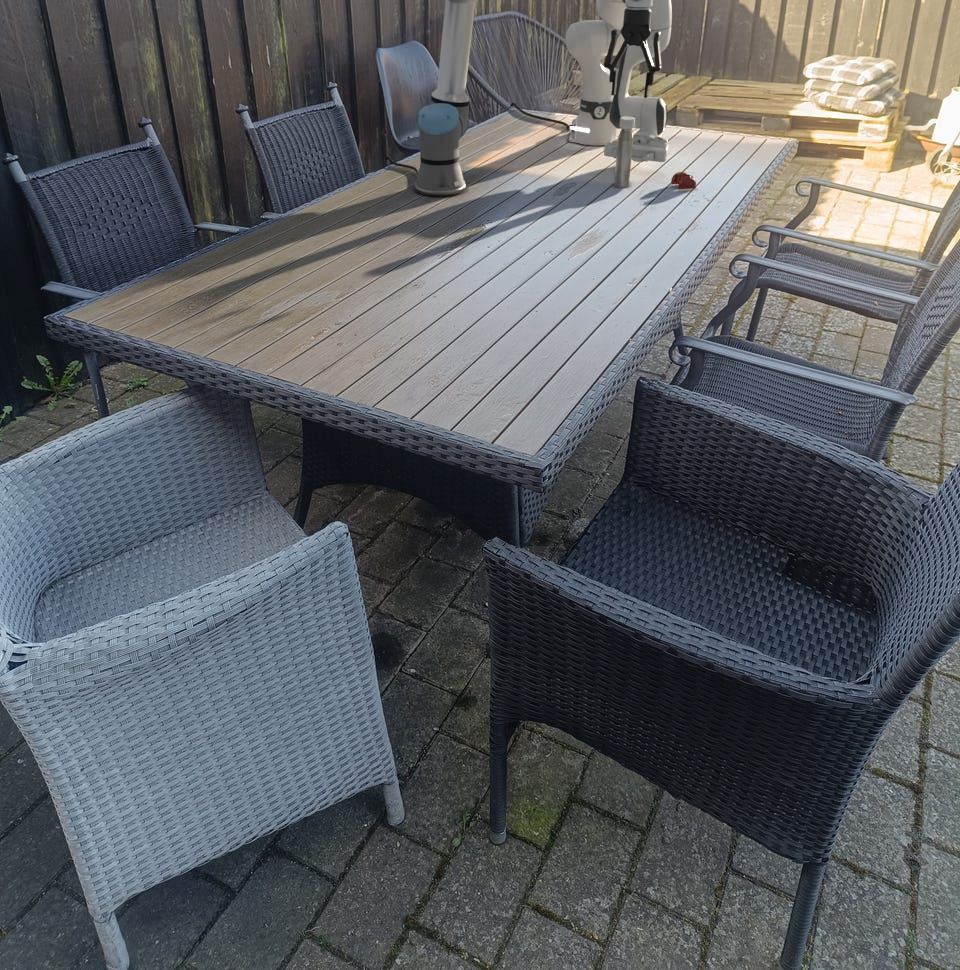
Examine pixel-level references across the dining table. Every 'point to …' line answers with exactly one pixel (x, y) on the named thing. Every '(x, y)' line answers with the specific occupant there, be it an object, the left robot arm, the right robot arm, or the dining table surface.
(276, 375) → the dining table surface
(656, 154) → the right robot arm
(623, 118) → the cap
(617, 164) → the bottle
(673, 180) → the dental model
